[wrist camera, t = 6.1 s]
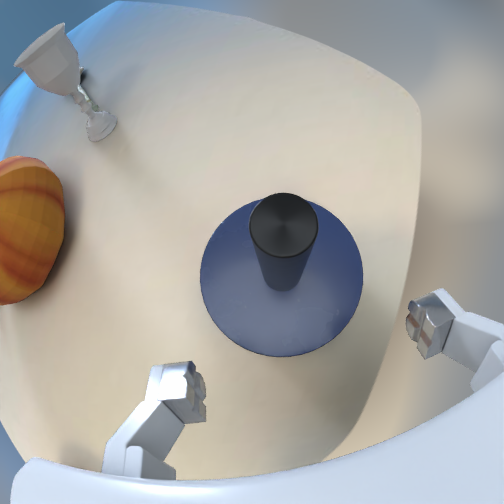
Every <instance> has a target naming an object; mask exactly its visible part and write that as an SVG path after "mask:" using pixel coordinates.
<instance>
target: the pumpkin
mask: <svg viewBox="0 0 504 504" xmlns="http://www.w3.org/2000/svg"><path fill="white" fill-rule="evenodd" d="M64 221H65V210H64V199H63V189H62V185H61V183H60V180H59V178H58V177H57V176H56V175H55V174H54V173H53V172H52V171H51V170H50V169H49V167H48V166H47V165H46V164H45V163H44V162H42V161H40V160H38V159H36V158H30V157H23V156H13V157H9V158H7V159H5V160H3V161H1V162H0V305H7V304H13V303H17V302H19V301H22V300H24V299H25V298H27V297H28V296H29V295H31V294H32V293H33V292H35V291H36V290H38V289H39V288H40V287H41V286H42V285H43V284H44V282H45V280H46V278H47V276H48V274H49V272H50V270H51V268H52V266H53V264H54V262H55V259H56V257H57V254H58V251H59V249H60V246H61V244H62V241H63V236H64Z"/></svg>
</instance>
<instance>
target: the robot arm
mask: <svg viewBox="0 0 504 504" xmlns="http://www.w3.org/2000/svg"><path fill="white" fill-rule="evenodd" d="M408 309H409V311H410V313H409V315H408V316H407V317H406V330H407V332H408V335H409V336H410V338H411V339H412V340H413V341H416V342H417V349H418V350H419V352H420V353H421V355H422V356H423V358H424V359H427V358H429V357H432V356H434V355H436V354H438V353H440V352H442V353H443V354H445V355H446V356H448V357H450V358H451V359H453V360H455V361H457V362H459V363H460V364H462V365H464V366H465V367H467V368H469V369H470V370H472V371H474V372H475V373H476V374H475V375H474V377H473V379H472V380H471V383H470V386H471V387H472V389H473V391H474V394H472V395H471V396H469V397H468V398H466V399H464V400H463V401H462V402H460V403H458V404H457V405H455V406H453V407H452V408H450V409H448V410H446V411H445V412H443V413H441V414H439V415H438V416H436V417H434V418H432V419H430V420H428V421H427V422H424V423H423V424H421V425H419V426H417V427H415V428H412V429H410V430H408V431H406V432H404V433H402V434H400V435H397V436H395V437H393V438H391V439H388V440H386V441H383V442H381V443H378V444H376V445H373V446H371V447H368V448H365V449H362V450H360V451H356V452H354V453H351V454H348V455H344V456H341V457H338V458H335V459H331V460H328V461H324V462H320V463H317V464H313V465H309V466H304V467H300V468H295V469H291V470H286V471H280V472H275V473H269V474H262V475H255V476H248V477H239V478H228V479H213V480H176V470H175V469H174V468H173V467H171V466H170V465H168V464H166V463H165V462H163V461H164V460H165V458H166V456H167V455H168V453H169V451H170V450H171V448H172V446H173V445H174V443H175V441H176V440H177V438H178V436H179V435H180V433H181V431H182V430H183V428H184V426H185V425H184V424H190V423H199V422H206V406H205V405H204V403H203V400H204V399H205V397H206V387H205V382H204V380H203V377H202V376H201V374H200V373H198V372H196V366H195V365H194V363H193V362H192V361H187V362H179V363H171V364H163V365H154V366H152V368H151V370H150V375H149V380H148V386H147V391H146V397H145V402H141V403H140V404H139V405H138V407H137V408H136V409H135V410H134V411H133V412H132V414H131V415H130V416H129V417H128V418H127V420H126V421H125V422H124V423H123V424H122V425H121V427H120V428H119V429H118V430H117V431H116V432H115V434H114V435H113V436H112V437H111V438H110V439H109V441H108V442H107V443H106V448H105V453H104V459H103V465H102V472H101V473H99V472H94V471H88V470H84V469H79V468H75V467H71V466H67V465H63V464H59V463H56V462H52V461H49V460H46V459H42V458H38V457H34V458H31V459H30V460H29V461H28V462H27V463H26V464H25V465H24V466H23V467H22V468H21V469H20V470H19V471H18V473H17V474H16V475H15V478H14V481H13V485H12V491H11V500H10V504H504V324H501V323H499V322H496V321H493V320H491V319H488V318H485V317H483V316H480V315H477V314H474V313H472V312H469V311H468V312H465V311H464V310H463V309H462V308H461V307H460V305H459V304H458V303H457V302H456V301H455V300H454V299H453V298H452V297H451V296H450V295H449V294H448V293H447V292H446V290H444V289H442V288H440V289H438V290H436V291H433V292H431V293H428V294H426V295H423V296H421V297H419V298H416V299H414V300H411V301H410V303H409V306H408Z"/></svg>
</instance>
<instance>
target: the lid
mask: <svg viewBox="0 0 504 504" xmlns="http://www.w3.org/2000/svg"><path fill="white" fill-rule="evenodd" d="M200 284H201V292H202V296H203V300H204V303H205V305H206V308H207V310H208V313H209V314H210V316H211V318H212V320H213V321H214V322H215V324H216V325H217V326H218V328H219V329H220V330H221V331H222V332H223V333H224V334H225V335H226V336H227V337H228V338H229V339H231V340H232V341H233V342H235V343H236V344H238V345H239V346H241V347H243V348H245V349H247V350H249V351H252V352H254V353H257V354H261V355H266V356H273V357H291V356H297V355H302V354H305V353H308V352H311V351H314V350H316V349H318V348H320V347H322V346H324V345H325V344H327V343H328V342H330V341H331V340H332V339H334V338H335V337H336V336H337V335H338V334H339V333H340V332H341V331H342V330H343V329H344V328H345V326H346V325H347V324H348V322H349V321H350V319H351V318H352V316H353V315H354V312H355V310H356V308H357V306H358V303H359V300H360V297H361V292H362V286H363V267H362V261H361V257H360V253H359V250H358V248H357V245H356V243H355V241H354V239H353V237H352V235H351V234H350V232H349V231H348V230H347V228H346V227H345V226H344V224H343V223H342V222H341V221H340V220H339V219H338V218H337V217H335V216H334V215H333V214H332V213H331V212H329V211H328V210H326V209H324V208H323V207H321V206H319V205H317V204H315V203H313V202H310V201H307V200H304V199H303V198H301V197H299V196H297V195H294V194H290V193H277V194H273V195H270V196H268V197H266V198H264V199H260V200H257V201H254V202H251V203H249V204H247V205H244V206H243V207H241V208H239V209H238V210H236V211H235V212H233V213H232V214H231V215H229V216H228V217H227V218H226V219H225V220H224V221H223V222H222V223H221V224H220V225H219V226H218V228H217V229H216V230H215V232H214V233H213V235H212V236H211V238H210V240H209V242H208V244H207V246H206V249H205V251H204V255H203V258H202V263H201V269H200Z"/></svg>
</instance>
